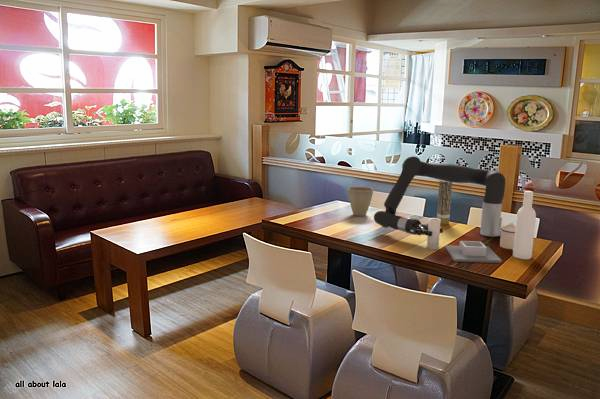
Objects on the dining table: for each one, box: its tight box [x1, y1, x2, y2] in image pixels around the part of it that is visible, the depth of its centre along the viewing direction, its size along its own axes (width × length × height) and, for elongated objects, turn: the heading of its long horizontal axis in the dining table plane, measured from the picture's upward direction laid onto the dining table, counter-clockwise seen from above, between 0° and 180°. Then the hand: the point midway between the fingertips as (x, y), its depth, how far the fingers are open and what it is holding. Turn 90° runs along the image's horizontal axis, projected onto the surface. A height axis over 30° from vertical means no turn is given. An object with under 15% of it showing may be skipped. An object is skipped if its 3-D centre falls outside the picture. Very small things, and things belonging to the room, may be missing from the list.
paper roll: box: [426, 217, 441, 251], centre depth 235 cm, size 5×5×14 cm
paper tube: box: [436, 180, 453, 226], centre depth 279 cm, size 7×7×25 cm
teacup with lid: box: [499, 222, 516, 250], centre depth 239 cm, size 12×9×12 cm
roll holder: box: [444, 240, 503, 264], centre depth 226 cm, size 20×20×5 cm
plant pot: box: [347, 186, 374, 217], centre depth 299 cm, size 15×15×16 cm
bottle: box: [512, 190, 537, 260], centre depth 222 cm, size 8×8×30 cm
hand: (437, 232), depth 233 cm, fingers open, 8 cm apart
